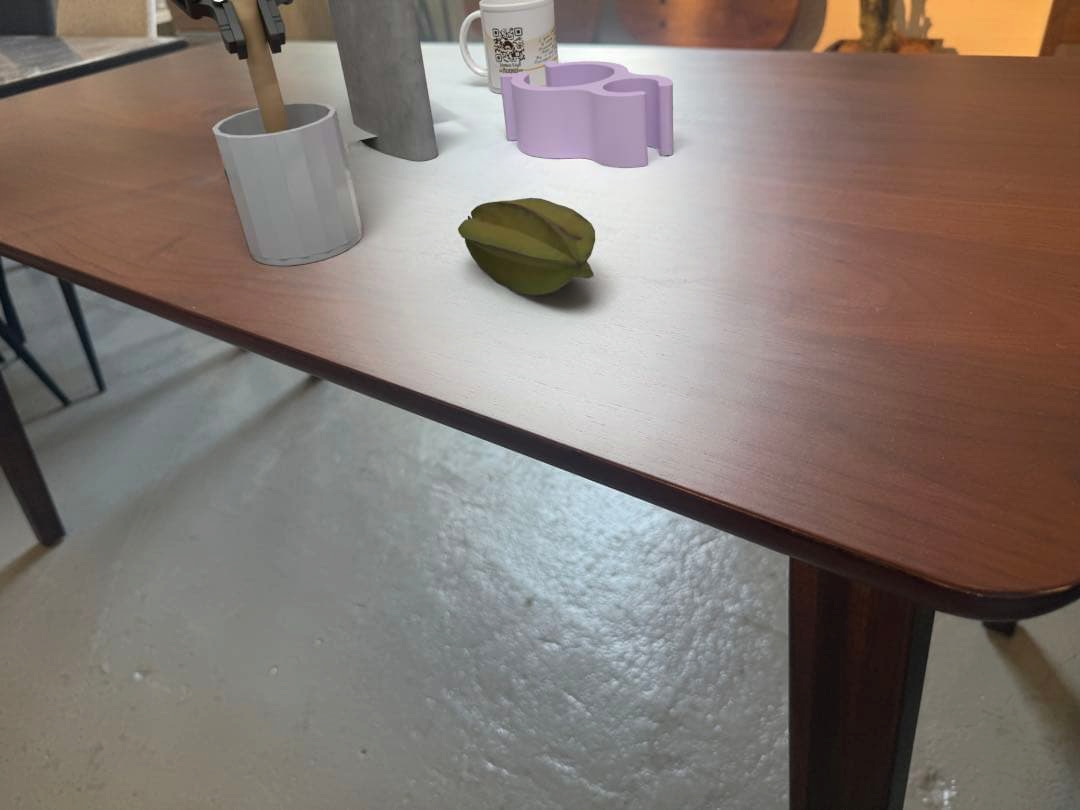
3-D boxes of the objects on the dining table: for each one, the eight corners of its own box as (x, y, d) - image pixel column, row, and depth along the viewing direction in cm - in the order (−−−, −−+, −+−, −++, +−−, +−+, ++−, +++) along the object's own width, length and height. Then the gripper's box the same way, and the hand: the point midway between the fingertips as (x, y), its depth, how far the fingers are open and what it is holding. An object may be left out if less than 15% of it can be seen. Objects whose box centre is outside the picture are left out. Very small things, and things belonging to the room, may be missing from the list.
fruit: (610, 250, 70) (606, 170, 66) (594, 321, 60) (588, 232, 56) (474, 253, 72) (463, 176, 68) (436, 322, 62) (421, 236, 58)
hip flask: (443, 155, 95) (411, -47, 84) (412, 165, 93) (375, -41, 82) (375, 131, 106) (339, -51, 95) (345, 139, 104) (305, -45, 93)
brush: (281, 224, 74) (217, -5, 64) (272, 211, 77) (210, -10, 67) (326, 213, 75) (270, -14, 65) (316, 200, 78) (262, -18, 68)
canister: (260, 276, 72) (221, 145, 66) (242, 238, 80) (205, 118, 74) (375, 246, 75) (348, 118, 69) (347, 212, 83) (320, 95, 77)
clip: (699, 143, 90) (699, 75, 86) (615, 177, 84) (612, 105, 80) (569, 116, 103) (565, 56, 100) (488, 144, 97) (481, 80, 93)
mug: (513, 99, 113) (504, 8, 107) (462, 87, 121) (450, 2, 115) (574, 81, 118) (568, -7, 112) (521, 71, 126) (512, -12, 120)
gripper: (89, -165, 64) (158, 33, 61) (275, -184, 68) (347, 1, 65) (114, -85, 71) (176, 96, 68) (280, -107, 75) (346, 63, 72)
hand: (260, 49), depth 67 cm, fingers closed on brush, 2 cm apart
